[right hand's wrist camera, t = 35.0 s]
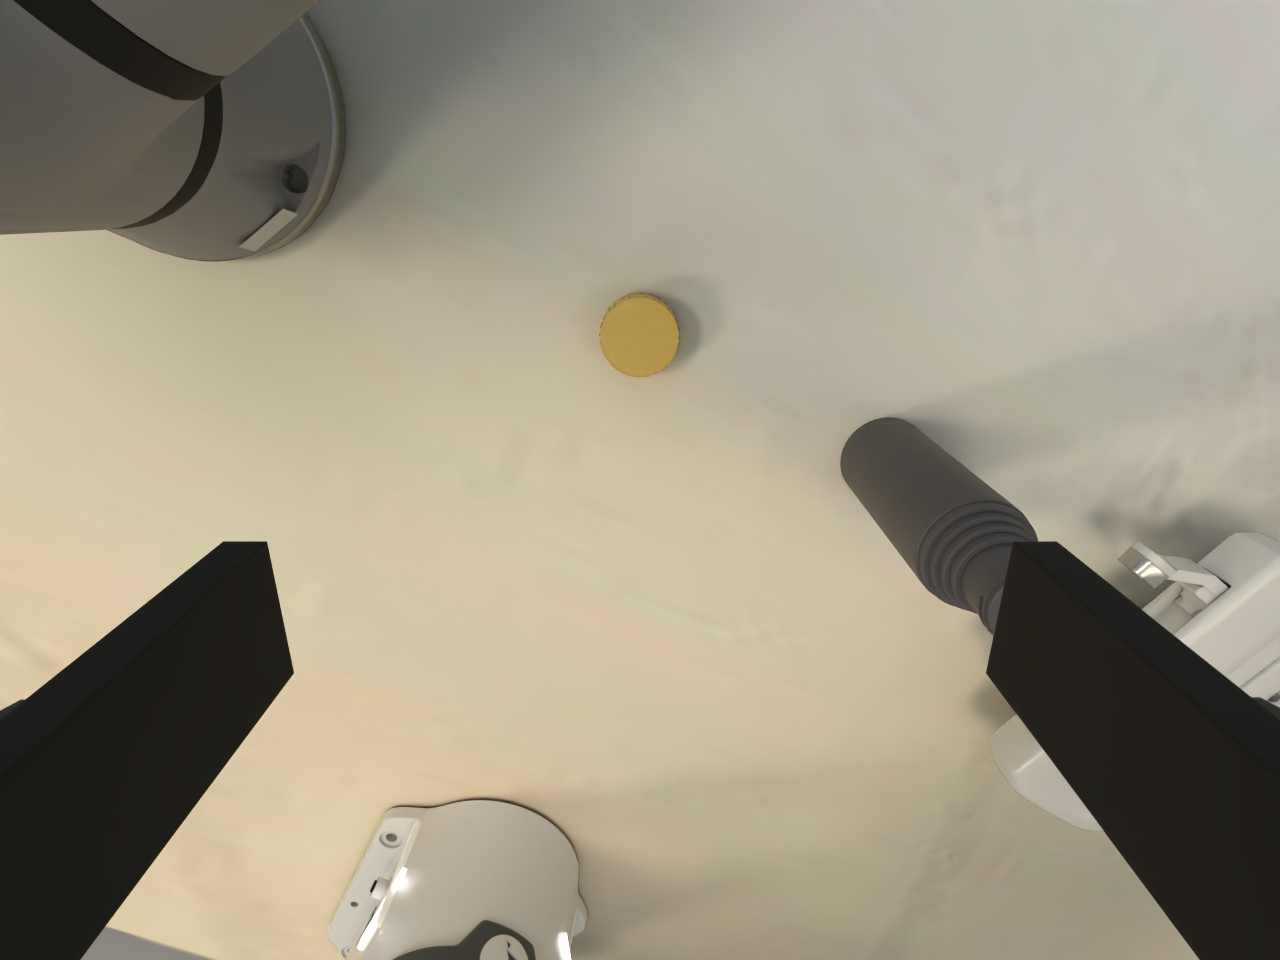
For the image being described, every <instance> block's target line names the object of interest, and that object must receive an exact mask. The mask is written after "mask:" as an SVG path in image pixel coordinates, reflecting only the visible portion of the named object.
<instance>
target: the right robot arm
mask: <svg viewBox="0 0 1280 960" xmlns="http://www.w3.org/2000/svg"><path fill="white" fill-rule="evenodd" d="M319 1H320V0H0V235H1V234H23V233H44V232H65V231H87V230H108V231H110V232H113V233H115V234H118V235H120V236H122V237H125V238H127V239H130V240H132V241H135V242H137V243H139V244H141V245H143V246H146V247H148V248H150V249H153V250H156V251H159V252H162V253H165V254H169V255H172V256H176V257H181V258H185V259H191V260H199V261H227V260H236V259H244V258H249V257H255V256H259V255H262V254H265V253H269V252H271V251H273V250H276V249H278V248H280V247H282V246H284V245H286V244H287V243H289V242H291V241H292V240H294V239H295V238H296V237H298V236H299V235H300V234H302V233H303V232H304V231H305V230H306V229H307V228H308V227H309V226H310V225H311V224H312V223H313V222H314V220H315V219H316V218H317V217H318V216H319V214H320V213H321V211H322V210H323V208H324V207H325V205H326V204H327V202H328V200H329V198H330V196H331V194H332V192H333V190H334V187H335V185H336V182H337V179H338V176H339V172H340V169H341V165H342V159H343V153H344V142H345V118H344V109H343V102H342V97H341V92H340V87H339V83H338V80H337V76H336V73H335V70H334V67H333V65H332V62H331V59H330V57H329V54H328V52H327V50H326V48H325V46H324V44H323V42H322V40H321V38H320V36H319V34H318V33H317V31H316V29H315V27H314V26H313V24H312V22H311V21H310V20H309V18H308V17H307V15H306V14H305V13H306V12H307V11H308V10H310V9H311V8H312V7H313V6H314V5H316V4H317V3H318V2H319ZM293 674H294V671H293V666H292V661H291V656H290V652H289V647H288V642H287V637H286V632H285V627H284V622H283V617H282V613H281V608H280V603H279V598H278V593H277V588H276V583H275V579H274V574H273V569H272V564H271V559H270V554H269V549H268V545H267V542H222V543H221V544H220V545H218V546H217V547H216V548H215V549H213V550H212V551H211V552H210V553H208V554H207V555H206V556H205V557H203V558H202V559H201V560H200V561H198V562H197V563H196V564H195V565H193V566H192V567H191V568H190V569H188V570H187V571H186V572H185V573H183V574H182V575H181V576H180V577H178V578H177V579H176V580H175V581H173V582H172V583H171V584H170V585H168V586H167V587H166V588H165V589H163V590H162V591H161V592H160V593H158V594H157V595H156V596H155V597H153V598H152V599H151V600H150V601H148V602H147V603H146V604H145V605H143V606H142V607H141V608H140V609H138V610H137V611H136V612H135V613H133V614H132V615H131V616H130V617H128V618H127V619H126V620H125V621H123V622H122V623H121V624H120V625H118V626H117V627H116V628H115V629H113V630H112V631H111V632H110V633H108V634H107V635H106V636H105V637H103V638H102V639H101V640H100V641H98V642H97V643H96V644H95V645H93V646H92V647H91V648H90V649H88V650H87V651H86V652H85V653H83V654H82V655H81V656H80V657H78V658H77V659H76V660H75V661H73V662H72V663H71V664H70V665H68V666H67V667H66V668H65V669H63V670H62V671H61V672H60V673H58V674H57V675H56V676H55V677H53V678H52V679H51V680H50V681H48V682H47V683H46V684H45V685H43V686H42V687H41V688H40V689H38V690H37V691H36V692H35V693H33V694H32V695H31V696H30V697H28V698H27V699H26V700H19V701H18V702H16V703H14V704H12V705H10V706H8V707H6V708H4V709H3V710H1V711H0V960H80V959H81V958H82V957H83V955H84V954H85V953H86V951H87V950H88V949H89V947H90V946H91V945H92V943H93V942H94V941H95V939H96V938H97V937H98V935H99V934H100V933H101V931H102V930H103V929H104V927H105V926H106V925H107V923H108V922H109V921H110V919H111V918H112V916H113V915H114V914H115V912H116V911H117V910H118V908H119V907H120V906H121V904H122V903H123V902H124V900H125V899H126V898H127V896H128V895H129V894H130V892H131V891H132V890H133V888H134V887H135V886H136V884H137V883H138V882H139V880H140V879H141V878H142V876H143V875H144V874H145V872H146V871H147V870H148V868H149V867H150V865H151V864H152V863H153V861H154V860H155V859H156V857H157V856H158V855H159V853H160V852H161V851H162V849H163V848H164V847H165V845H166V844H167V843H168V841H169V840H170V839H171V837H172V836H173V835H174V833H175V832H176V831H177V829H178V828H179V827H180V825H181V824H182V823H183V821H184V820H185V819H186V817H187V816H188V814H189V813H190V812H191V810H192V809H193V808H194V806H195V805H196V804H197V802H198V801H199V800H200V798H201V797H202V796H203V794H204V793H205V792H206V790H207V789H208V788H209V786H210V785H211V784H212V782H213V781H214V780H215V778H216V777H217V776H218V774H219V773H220V772H221V770H222V769H223V768H224V766H225V765H226V764H227V762H228V761H229V759H230V758H231V757H232V755H233V754H234V753H235V751H236V750H237V749H238V747H239V746H240V745H241V743H242V742H243V741H244V739H245V738H246V737H247V735H248V734H249V733H250V731H251V730H252V729H253V727H254V726H255V725H256V723H257V722H258V721H259V719H260V718H261V717H262V715H263V714H264V713H265V711H266V710H267V708H268V707H269V706H270V704H271V703H272V702H273V700H274V699H275V698H276V696H277V695H278V694H279V692H280V691H281V690H282V688H283V687H284V686H285V684H286V683H287V682H288V680H289V679H290V678H291V676H292V675H293ZM986 674H987V675H988V676H989V678H990V679H991V680H992V682H993V683H994V684H995V686H996V687H997V688H998V690H999V691H1000V692H1001V694H1002V695H1003V696H1004V698H1005V699H1006V700H1007V702H1008V703H1009V704H1010V706H1011V707H1012V708H1013V710H1014V711H1015V713H1016V714H1017V715H1018V717H1019V718H1020V719H1021V721H1022V722H1023V723H1024V725H1025V726H1026V727H1027V729H1028V730H1029V731H1030V733H1031V734H1032V735H1033V737H1034V738H1035V739H1036V741H1037V742H1038V743H1039V745H1040V746H1041V747H1042V749H1043V750H1044V751H1045V753H1046V754H1047V755H1048V757H1049V758H1050V759H1051V761H1052V762H1053V764H1054V765H1055V766H1056V768H1057V769H1058V770H1059V772H1060V773H1061V774H1062V776H1063V777H1064V778H1065V780H1066V781H1067V782H1068V784H1069V785H1070V786H1071V788H1072V789H1073V790H1074V792H1075V793H1076V794H1077V796H1078V797H1079V798H1080V800H1081V801H1082V802H1083V804H1084V805H1085V806H1086V808H1087V809H1088V810H1089V812H1090V813H1091V815H1092V816H1093V817H1094V819H1095V820H1096V821H1097V823H1098V824H1099V825H1100V827H1101V828H1102V829H1103V831H1104V832H1105V833H1106V835H1107V836H1108V837H1109V839H1110V840H1111V841H1112V843H1113V844H1114V845H1115V847H1116V848H1117V849H1118V851H1119V852H1120V853H1121V855H1122V856H1123V857H1124V859H1125V860H1126V861H1127V863H1128V864H1129V865H1130V867H1131V868H1132V870H1133V871H1134V872H1135V874H1136V875H1137V876H1138V878H1139V879H1140V880H1141V882H1142V883H1143V884H1144V886H1145V887H1146V888H1147V890H1148V891H1149V892H1150V894H1151V895H1152V896H1153V898H1154V899H1155V900H1156V902H1157V903H1158V904H1159V906H1160V907H1161V908H1162V910H1163V911H1164V912H1165V914H1166V915H1167V916H1168V918H1169V919H1170V921H1171V922H1172V923H1173V925H1174V926H1175V927H1176V929H1177V930H1178V931H1179V933H1180V934H1181V935H1182V937H1183V938H1184V939H1185V941H1186V942H1187V943H1188V945H1189V946H1190V947H1191V949H1192V950H1193V951H1194V953H1195V954H1196V955H1197V957H1198V958H1199V959H1200V960H1280V707H1278V706H1276V705H1274V704H1272V703H1270V702H1268V701H1266V700H1264V699H1262V698H1261V697H1250V696H1249V695H1248V694H1247V693H1245V692H1244V691H1243V690H1242V689H1240V688H1239V687H1238V686H1237V685H1235V684H1234V683H1233V682H1232V681H1230V680H1229V679H1228V678H1227V677H1225V676H1224V675H1223V674H1222V673H1220V672H1219V671H1218V670H1217V669H1215V668H1214V667H1213V666H1212V665H1210V664H1209V663H1208V662H1207V661H1205V660H1204V659H1203V658H1202V657H1200V656H1199V655H1198V654H1197V653H1195V652H1194V651H1193V650H1192V649H1190V648H1189V647H1188V646H1187V645H1185V644H1184V643H1183V642H1182V641H1180V640H1179V639H1178V638H1177V637H1175V636H1174V635H1173V634H1172V633H1170V632H1169V631H1168V630H1167V629H1165V628H1164V627H1163V626H1162V625H1160V624H1159V623H1158V622H1157V621H1155V620H1154V619H1153V618H1152V617H1150V616H1149V615H1148V614H1147V613H1145V612H1144V611H1143V610H1142V609H1140V608H1139V607H1138V606H1137V605H1135V604H1134V603H1133V602H1132V601H1130V600H1129V599H1128V598H1127V597H1125V596H1124V595H1123V594H1122V593H1120V592H1119V591H1118V590H1117V589H1115V588H1114V587H1113V586H1112V585H1110V584H1109V583H1108V582H1107V581H1105V580H1104V579H1103V578H1102V577H1100V576H1099V575H1098V574H1097V573H1095V572H1094V571H1093V570H1092V569H1090V568H1089V567H1088V566H1087V565H1085V564H1084V563H1083V562H1082V561H1080V560H1079V559H1078V558H1077V557H1075V556H1074V555H1073V554H1072V553H1070V552H1069V551H1068V550H1067V549H1065V548H1064V547H1063V546H1062V545H1060V544H1059V543H1058V542H1013V545H1012V549H1011V554H1010V559H1009V564H1008V569H1007V574H1006V579H1005V583H1004V588H1003V593H1002V598H1001V603H1000V608H999V613H998V617H997V622H996V627H995V632H994V637H993V642H992V647H991V651H990V656H989V661H988V666H987V671H986Z"/></svg>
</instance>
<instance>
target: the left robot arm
mask: <svg viewBox="0 0 1280 960" xmlns="http://www.w3.org/2000/svg"><path fill="white" fill-rule="evenodd" d="M1118 560H1119V561H1120V562H1121V563H1122V564H1124V565H1125V566H1126V567H1127V568H1128V569H1129V570H1130V571H1132V572H1133V573H1134V574H1135V575H1137V576H1138V577H1139V578H1140V579H1142V580H1143V581H1145V582H1146V583H1147V584H1148V585H1150V586H1151V587H1153V588H1154V589H1155V588H1156V587H1158V586H1159V585H1160V584H1161V583H1163V582H1164V581H1165V580H1173V581H1175V582H1174V583H1173V584H1172V585H1170V586H1169V587H1168V588H1167V589H1166V590H1164V591H1163V592H1162V593H1161V594H1160V595H1158V596H1157V597H1156V598H1155V599H1154V600H1152V601H1151V602H1150V603H1149V604H1148V605H1146V606H1145V607H1144V608H1143V609H1142V610H1143V611H1144V612H1145V613H1147V614H1148V615H1149V616H1150V617H1152V618H1153V619H1154V620H1155V621H1157V622H1158V623H1159V624H1160V625H1162V626H1163V627H1164V628H1165V629H1167V630H1168V631H1169V632H1170V633H1172V634H1173V635H1174V636H1175V637H1177V638H1178V639H1179V640H1180V641H1182V642H1183V643H1184V644H1185V645H1187V646H1188V647H1189V648H1190V649H1192V650H1193V651H1194V652H1195V653H1197V654H1198V655H1199V656H1200V657H1202V658H1203V659H1204V660H1205V661H1207V662H1208V663H1209V664H1210V665H1212V666H1213V667H1214V668H1215V669H1217V670H1218V671H1219V672H1220V673H1222V674H1223V675H1224V676H1225V677H1227V678H1228V679H1229V680H1230V681H1232V682H1233V683H1234V684H1235V685H1237V686H1238V687H1239V688H1240V689H1242V690H1243V691H1244V692H1245V693H1247V694H1248V695H1249V696H1250V697H1261V698H1262V699H1264V700H1266V701H1268V702H1270V703H1272V704H1274V705H1276V706H1278V707H1280V542H1278V541H1276V540H1274V539H1272V538H1270V537H1268V536H1266V535H1263V534H1261V533H1255V532H1238V533H1234V534H1232V535H1231V536H1229V537H1228V538H1227V539H1225V540H1224V541H1223V542H1222V543H1221V544H1220V545H1218V546H1217V547H1216V548H1215V549H1214V550H1212V551H1211V552H1210V553H1209V554H1208V555H1206V556H1205V557H1204V558H1203V559H1202V560H1200V561H1199V562H1198V563H1197V564H1196V563H1195V562H1193V561H1192V560H1190V559H1189V558H1184V557H1175V556H1165V555H1158V554H1156V553H1155V552H1154V551H1152V550H1151V549H1150V548H1148V547H1147V546H1145V545H1144V544H1142V543H1141V542H1139V541H1137V542H1136V543H1135V544H1134V545H1133V546H1131V547H1130V548H1129V549H1128V550H1127V551H1126V552H1125V553H1124V554H1123V555H1121V556H1120V557H1119V558H1118ZM989 750H990V755H991V757H992V759H993V761H994V763H995V765H996V766H997V768H998V770H999V771H1000V773H1001V774H1002V776H1003V777H1004V778H1005V780H1006V781H1007V783H1008V784H1009V785H1010V786H1011V787H1012V788H1013V789H1014V790H1015V791H1016V792H1017V793H1018V794H1020V795H1021V796H1022V797H1024V798H1025V799H1027V800H1028V801H1030V802H1031V803H1033V804H1034V805H1036V806H1037V807H1039V808H1041V809H1042V810H1044V811H1046V812H1047V813H1049V814H1051V815H1053V816H1054V817H1056V818H1058V819H1060V820H1062V821H1064V822H1066V823H1068V824H1070V825H1072V826H1074V827H1077V828H1080V829H1083V830H1087V831H1093V832H1102V831H1103V829H1102V828H1101V827H1100V825H1099V824H1098V823H1097V821H1096V820H1095V819H1094V817H1093V816H1092V815H1091V813H1090V812H1089V810H1088V809H1087V808H1086V806H1085V805H1084V804H1083V802H1082V801H1081V800H1080V798H1079V797H1078V796H1077V794H1076V793H1075V792H1074V790H1073V789H1072V788H1071V786H1070V785H1069V784H1068V782H1067V781H1066V780H1065V778H1064V777H1063V776H1062V774H1061V773H1060V772H1059V770H1058V769H1057V768H1056V766H1055V765H1054V764H1053V762H1052V761H1051V759H1050V758H1049V757H1048V755H1047V754H1046V753H1045V751H1044V750H1043V749H1042V747H1041V746H1040V745H1039V743H1038V742H1037V741H1036V739H1035V738H1034V737H1033V735H1032V734H1031V733H1030V731H1029V730H1028V729H1027V727H1026V726H1025V725H1024V723H1023V722H1022V721H1021V719H1020V718H1019V717H1018V715H1017V714H1016V715H1015V716H1013V717H1012V718H1011V719H1010V720H1009V721H1007V722H1006V723H1005V724H1004V725H1003V726H1001V727H1000V728H999V729H998V730H996V731H995V732H994V733H993V734H992V735H991V736H990V738H989ZM578 880H579V866H578V861H577V857H576V854H575V852H574V850H573V848H572V846H571V844H570V843H569V841H568V840H567V838H566V837H565V836H564V835H563V834H562V832H561V831H560V830H559V829H558V828H556V827H555V826H554V825H553V824H552V823H550V822H549V821H548V820H546V819H545V818H543V817H541V816H540V815H538V814H536V813H534V812H532V811H530V810H527V809H525V808H522V807H519V806H516V805H513V804H509V803H504V802H498V801H490V800H470V801H461V802H456V803H451V804H447V805H443V806H439V807H435V808H415V807H396V808H392V809H389V810H388V811H387V812H386V813H385V814H384V816H383V818H382V820H381V822H380V824H379V826H378V828H377V830H376V832H375V834H374V836H373V838H372V840H371V842H370V844H369V846H368V848H367V850H366V851H365V853H364V855H363V857H362V859H361V861H360V863H359V865H358V867H357V869H356V871H355V873H354V875H353V877H352V879H351V881H350V883H349V885H348V887H347V889H346V891H345V893H344V895H343V897H342V899H341V901H340V903H339V905H338V907H337V909H336V911H335V913H334V915H333V917H332V919H331V922H330V925H329V928H328V931H327V937H328V939H329V941H330V942H331V944H332V945H333V946H334V948H335V949H336V950H337V951H338V952H339V953H340V954H341V955H342V956H343V957H344V958H345V959H346V960H571V956H570V949H571V943H572V938H573V937H575V936H576V935H578V934H580V933H581V932H582V931H583V930H584V929H585V925H586V920H587V910H586V907H585V905H584V903H583V901H582V899H581V897H580V895H579V892H578Z"/></svg>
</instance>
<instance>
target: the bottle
mask: <svg viewBox="0 0 1280 960" xmlns="http://www.w3.org/2000/svg"><path fill="white" fill-rule="evenodd" d="M841 471H842V474H843V477H844V479H845V481H846V483H847V484H848V486H849V487H850V488H851V490H852V491H853V492H854V494H855V495H856V496H857V498H858V499H859V500H860V502H861V503H862V504H863V506H864V507H865V508H866V509H867V511H868V512H869V513H870V515H871V516H872V517H873V519H874V520H875V521H876V523H877V524H878V525H879V527H880V528H881V529H882V531H883V532H884V533H885V535H886V536H887V537H888V539H889V540H890V541H891V543H892V544H893V545H894V547H895V548H896V549H897V551H898V552H899V553H900V555H901V556H902V557H903V559H904V560H905V561H906V563H907V564H908V565H909V567H910V568H911V569H912V571H913V572H914V573H915V575H916V576H917V577H918V579H919V580H920V581H921V583H922V584H923V585H924V586H925V587H926V589H927V590H928V591H930V592H931V593H932V594H933V595H935V596H936V597H938V598H939V599H940V600H942V601H943V602H945V603H947V604H950V605H952V606H956V607H958V608H961V609H965V610H968V611H971V612H974V613H976V614H978V615H979V617H980V619H981V621H982V623H983V625H984V626H985V627H986V628H987V629H988V631H989V632H990V633H991V634H992V635H993V636H994V632H995V627H996V622H997V617H998V613H999V608H1000V603H1001V598H1002V593H1003V588H1004V583H1005V579H1006V574H1007V569H1008V564H1009V559H1010V554H1011V549H1012V545H1013V542H1038V539H1037V536H1036V533H1035V531H1034V529H1033V527H1032V526H1031V524H1030V523H1029V521H1028V520H1027V518H1026V517H1025V516H1024V514H1023V513H1022V512H1021V511H1020V510H1018V509H1017V508H1016V507H1015V506H1014V505H1012V504H1011V503H1010V502H1008V501H1007V500H1006V499H1005V498H1003V497H1002V496H1001V495H1000V494H998V493H997V492H996V491H995V490H993V489H992V488H991V487H990V486H988V485H987V484H986V483H985V482H983V481H982V480H981V479H980V478H978V477H977V476H976V475H974V474H973V473H972V472H971V471H969V470H968V469H967V468H966V467H964V466H963V465H962V464H961V463H959V462H958V461H957V460H956V459H954V458H953V457H952V456H951V455H949V454H948V453H947V452H946V451H944V450H943V449H942V448H941V447H939V446H938V445H937V444H935V443H934V442H933V441H932V440H930V439H929V438H928V437H927V436H925V435H924V434H923V433H922V432H920V431H919V430H918V429H917V428H915V427H914V426H913V425H911V424H910V423H908V422H906V421H903V420H900V419H895V418H883V419H878V420H874V421H871V422H869V423H867V424H865V425H863V426H862V427H860V428H859V429H858V430H857V431H855V432H854V433H853V434H852V436H851V437H850V438H849V439H848V441H847V443H846V444H845V447H844V449H843V452H842V456H841Z"/></svg>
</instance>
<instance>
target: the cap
mask: <svg viewBox="0 0 1280 960" xmlns="http://www.w3.org/2000/svg"><path fill="white" fill-rule="evenodd" d="M603 320H604V321H603V322H602V324H601V327H600V328H601V331H600V335H599V336H600V344H601V347H602V351H603V353H604V355H605V357H606V359H607V360H608V362H609V363H610V364H611V365H612V366H613V367H614V368H615V369H617V370H618V371H620V372H621V373H624V374H626V375H629V376H634V377H645V376H650V375H653V374H656V373H658V372H660V371H661V370H663V369H664V368H665V367H666V366H667V365H668V364H669V363H670V362H671V361H672V359H673V358H674V356H675V354H676V351H677V348H678V344H679V339H680V337H679V327H678V326H677V320H676V318H675V317H674V314H673V311H671V310H670V309H669V307H668V305H667V304H665V303H664V302H662V300H661V299H660V300H659V299H658V298H656V297H654V295H653V296H651V295H647V294H646V293H645V294H638V293H636V294H632V295H630V294H628V296H626V297H623V298H622V297H621V299H620V300H618V301H617V302H614V304H613V305H612V306H611V308H608V312H607V314H606V315H604V318H603Z"/></svg>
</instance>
